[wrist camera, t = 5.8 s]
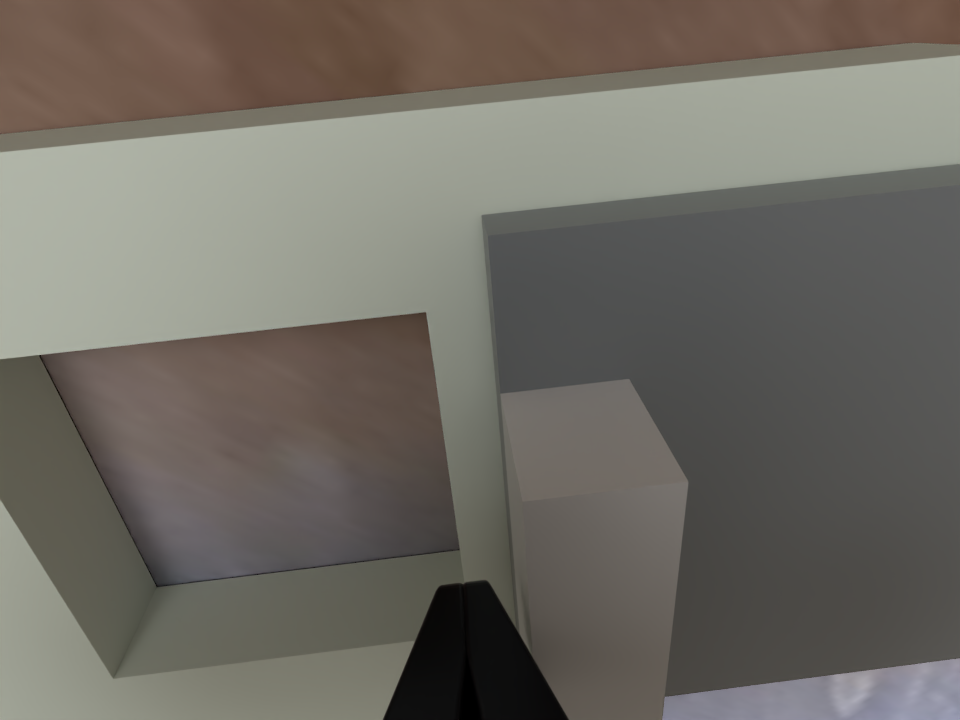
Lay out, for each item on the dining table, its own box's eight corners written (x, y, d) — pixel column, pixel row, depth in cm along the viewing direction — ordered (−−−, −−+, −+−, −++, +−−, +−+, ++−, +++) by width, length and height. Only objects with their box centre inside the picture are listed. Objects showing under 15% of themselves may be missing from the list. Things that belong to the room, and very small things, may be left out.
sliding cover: (520, 672, 14) (545, 842, 11) (481, 214, 9) (509, 310, 6) (930, 620, 15) (1060, 772, 12) (1134, 145, 9) (1472, 203, 6)
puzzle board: (86, 673, 17) (36, 768, 15) (-254, 159, 10) (-442, 197, 8) (782, 585, 18) (833, 665, 15) (911, 42, 11) (1036, 47, 8)
